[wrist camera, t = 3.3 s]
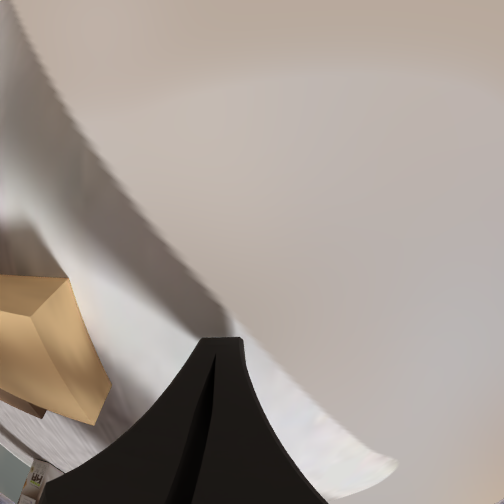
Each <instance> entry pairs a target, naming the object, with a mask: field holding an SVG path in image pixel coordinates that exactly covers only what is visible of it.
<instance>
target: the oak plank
mask: <svg viewBox="0 0 504 504" xmlns="http://www.w3.org/2000/svg"><path fill="white" fill-rule="evenodd" d="M111 386H112V384H111V382H110V380H109V378H108V376H107V374H106V372H105V370H104V368H103V366H102V364H101V362H100V359H99V357H98V355H97V353H96V350H95V348H94V346H93V343H92V341H91V339H90V336H89V334H88V331H87V329H86V326H85V324H84V321H83V319H82V316H81V313H80V310H79V308H78V305H77V302H76V299H75V296H74V293H73V290H72V287H71V283H70V280H69V278H52V277H33V276H16V275H1V274H0V388H1V389H2V390H4V391H6V392H8V393H10V394H12V395H14V396H17V397H19V398H21V399H23V400H25V401H27V402H30V403H32V404H34V405H37V406H39V407H41V408H44V409H46V410H49V411H52V412H54V413H57V414H60V415H62V416H65V417H68V418H71V419H74V420H77V421H80V422H83V423H87V424H90V425H93V426H94V425H95V422H96V420H97V418H98V415H99V413H100V411H101V409H102V406H103V404H104V402H105V400H106V397H107V395H108V393H109V391H110V389H111Z"/></svg>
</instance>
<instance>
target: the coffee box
mask: <svg viewBox="0 0 504 504" xmlns="http://www.w3.org/2000/svg"><path fill="white" fill-rule="evenodd" d="M63 474H64V473H63V472H61V471H60V470H58V469H57V468H55V467H54V466H52V465H51V464H49V463H47V462H43V461H40V460H37V459H34V461H33V464H32V466H31V469H30V472H29V474H28V477H27V479H26V482H25V484H24V487H23V489H22V492H21V495H20V498H19V501H18V504H38V503H39V500H40V497H41V494H42V491H43V489H44V486H45V484H46V482H48V481H51V480H53V479H55V478H57V477H59V476H61V475H63Z"/></svg>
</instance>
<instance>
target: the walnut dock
mask: <svg viewBox="0 0 504 504" xmlns="http://www.w3.org/2000/svg"><path fill="white" fill-rule="evenodd" d="M0 400H1V401H3V402H5V403H7V404H9V405H11V406H13V407H16V408H18V409H20V410H22V411H24V412H26V413H29V414H31V415H33V416H36V417H38V418H40V419H42V418H43V416H44V415H45V413H46V411H47V410H46V409H44V408H41V407H39V406H37V405H34V404H32V403H30V402H27V401H25V400H23V399H21V398H19V397H17V396H14V395H12V394H10V393H8V392H6V391H4V390H2V389H1V388H0Z"/></svg>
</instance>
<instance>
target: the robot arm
mask: <svg viewBox="0 0 504 504" xmlns="http://www.w3.org/2000/svg"><path fill="white" fill-rule="evenodd" d="M0 504H15V503H14V502H13V501H11V500H10V499H9V498H7V497H6V496H5V495H3V494H2V493H1V492H0ZM38 504H328V503H327V502H326V500H325V499H324V498H323V497H322V496H321V495H320V494H319V493H318V492H317V491H316V489H315V488H314V487H313V486H312V485H311V484H310V482H309V481H308V480H307V479H306V478H305V476H304V475H303V474H302V472H301V471H300V470H299V468H298V467H297V466H296V464H295V463H294V461H293V460H292V459H291V457H290V456H289V454H288V453H287V452H286V450H285V448H284V447H283V445H282V444H281V442H280V440H279V439H278V437H277V436H276V434H275V432H274V430H273V428H272V427H271V425H270V423H269V421H268V419H267V417H266V415H265V413H264V411H263V409H262V407H261V405H260V402H259V400H258V398H257V395H256V393H255V391H254V388H253V385H252V382H251V379H250V377H249V374H248V370H247V367H246V360H245V352H244V343H243V339H241V338H240V337H222V338H202V339H201V340H200V341H199V342H198V344H197V345H196V347H195V349H194V350H193V352H192V353H191V355H190V357H189V358H188V360H187V361H186V363H185V364H184V366H183V367H182V368H181V370H180V371H179V373H178V374H177V375H176V377H175V378H174V379H173V381H172V382H171V384H170V385H169V386H168V387H167V389H166V390H165V391H164V392H163V393H162V395H161V396H160V397H159V398H158V400H157V401H156V402H155V403H154V404H153V405H152V407H151V408H150V409H149V410H148V411H147V412H146V413H145V414H144V415H143V416H142V417H141V418H140V419H139V420H138V421H137V422H136V423H135V424H134V425H133V426H132V427H131V428H130V429H129V430H128V431H126V432H125V433H124V434H123V435H122V436H121V437H120V438H118V439H117V440H116V441H115V442H114V443H112V444H111V445H110V446H108V447H107V448H106V449H104V450H103V451H102V452H100V453H99V454H97V455H96V456H94V457H93V458H91V459H90V460H88V461H87V462H85V463H84V464H82V465H80V466H79V467H77V468H75V469H73V470H71V471H69V472H67V473H65V474H63V475H61V476H59V477H57V478H55V479H53V480H51V481H48V482H46V484H45V486H44V489H43V491H42V494H41V497H40V500H39V503H38ZM495 504H504V499H502V500H501V501H499V502H498V503H495Z"/></svg>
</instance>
